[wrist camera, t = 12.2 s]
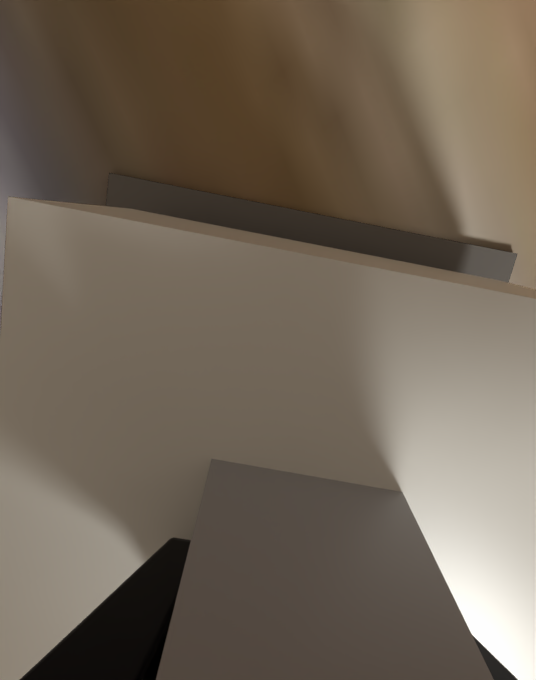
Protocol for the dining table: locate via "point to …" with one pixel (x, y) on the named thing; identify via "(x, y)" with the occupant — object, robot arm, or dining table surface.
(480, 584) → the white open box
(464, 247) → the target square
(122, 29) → the dining table surface
